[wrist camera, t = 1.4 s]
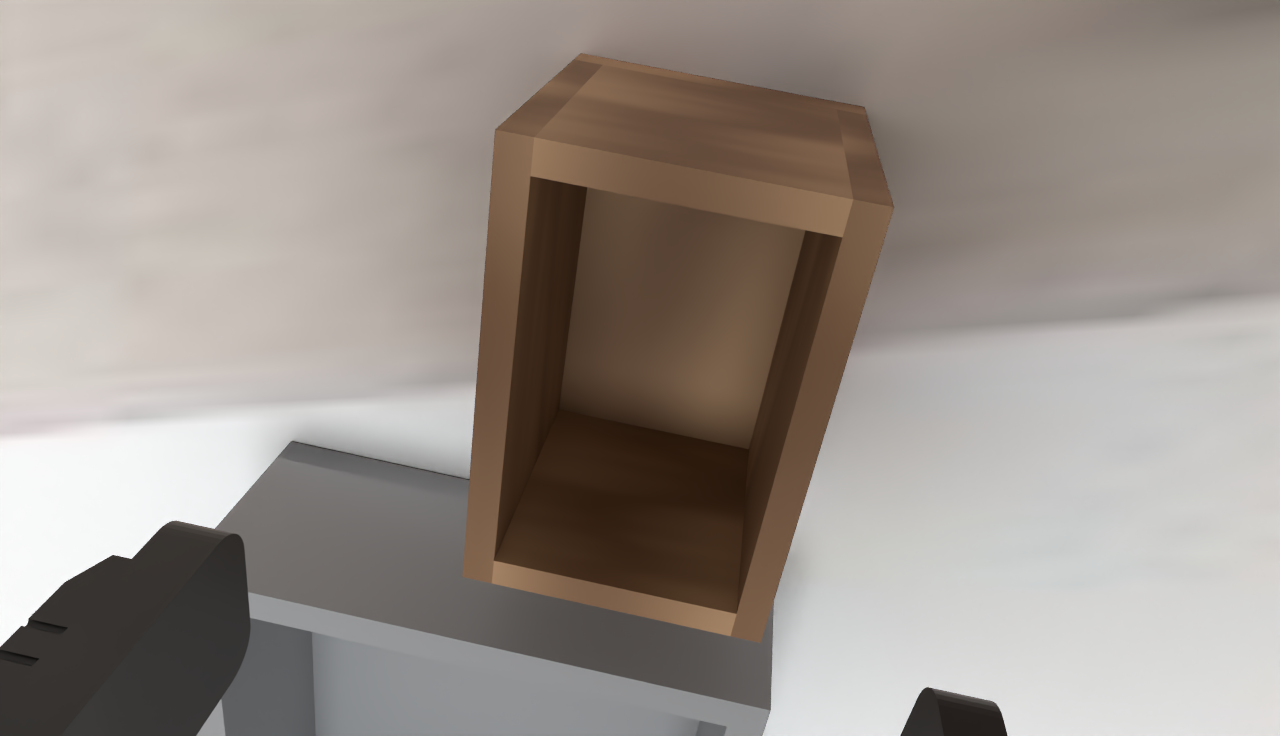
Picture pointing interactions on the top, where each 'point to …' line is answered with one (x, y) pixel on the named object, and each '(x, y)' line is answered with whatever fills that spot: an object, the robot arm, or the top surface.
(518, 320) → the crate small
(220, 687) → the robot arm
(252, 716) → the crate large
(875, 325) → the top surface
